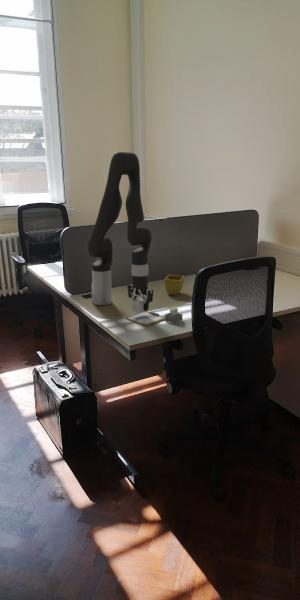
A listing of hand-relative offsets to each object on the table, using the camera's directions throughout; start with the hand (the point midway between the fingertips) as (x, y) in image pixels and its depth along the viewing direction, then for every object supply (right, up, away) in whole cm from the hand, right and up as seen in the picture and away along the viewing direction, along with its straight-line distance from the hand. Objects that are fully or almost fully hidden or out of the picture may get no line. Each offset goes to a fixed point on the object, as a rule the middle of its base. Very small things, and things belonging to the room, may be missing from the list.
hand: (140, 308), depth 196 cm
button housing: (+15, -5, -2) cm, 16 cm away
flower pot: (+17, +7, +35) cm, 39 cm away
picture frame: (+2, -5, 0) cm, 5 cm away
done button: (+15, -4, -3) cm, 16 cm away
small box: (0, -1, 0) cm, 1 cm away
